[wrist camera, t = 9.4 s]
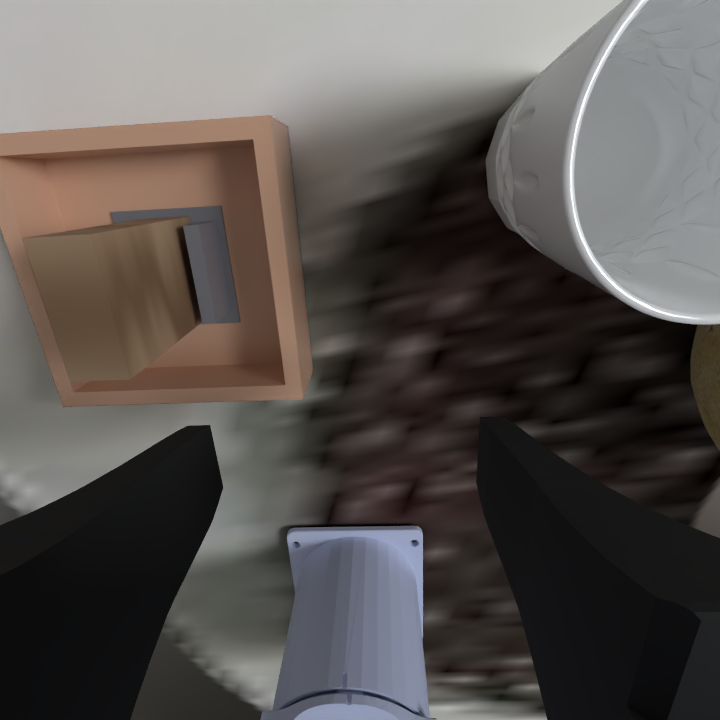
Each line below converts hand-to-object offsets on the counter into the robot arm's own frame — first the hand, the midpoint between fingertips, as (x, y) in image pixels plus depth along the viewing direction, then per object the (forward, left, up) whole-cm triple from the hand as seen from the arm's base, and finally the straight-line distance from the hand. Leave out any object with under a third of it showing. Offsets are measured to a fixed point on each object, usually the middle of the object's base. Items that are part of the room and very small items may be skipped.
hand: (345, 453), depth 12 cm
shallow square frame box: (+4, +8, -10) cm, 14 cm away
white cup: (+7, -9, -11) cm, 16 cm away
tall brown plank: (+4, +8, -10) cm, 13 cm away
